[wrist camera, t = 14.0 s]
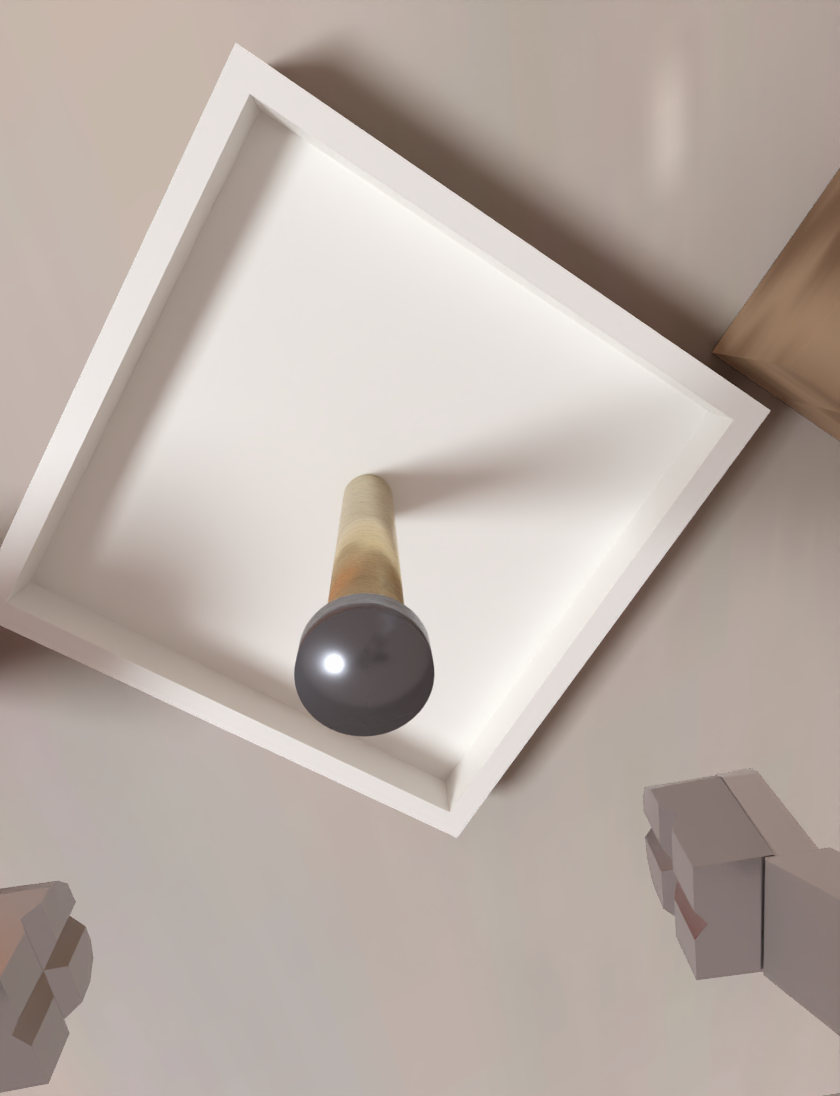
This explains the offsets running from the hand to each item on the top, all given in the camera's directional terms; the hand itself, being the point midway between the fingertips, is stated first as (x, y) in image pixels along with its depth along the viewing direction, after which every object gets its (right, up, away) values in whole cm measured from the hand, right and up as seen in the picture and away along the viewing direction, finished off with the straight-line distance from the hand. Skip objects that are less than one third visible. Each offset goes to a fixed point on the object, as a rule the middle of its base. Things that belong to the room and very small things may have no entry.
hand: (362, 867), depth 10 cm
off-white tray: (-1, +7, +20) cm, 22 cm away
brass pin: (-1, +6, +20) cm, 21 cm away
